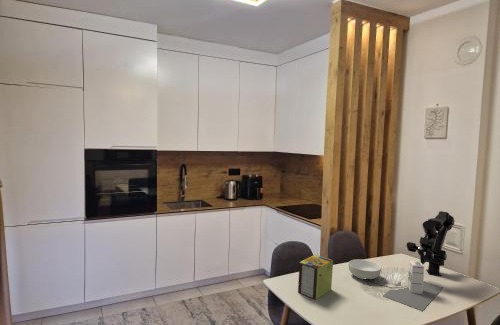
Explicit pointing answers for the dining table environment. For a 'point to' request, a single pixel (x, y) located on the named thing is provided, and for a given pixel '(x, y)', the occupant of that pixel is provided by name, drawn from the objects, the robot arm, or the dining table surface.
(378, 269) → the cereal bowl
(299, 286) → the protein box
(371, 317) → the dining table surface
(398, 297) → the rubber mat
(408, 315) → the dining table surface
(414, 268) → the syrup box
